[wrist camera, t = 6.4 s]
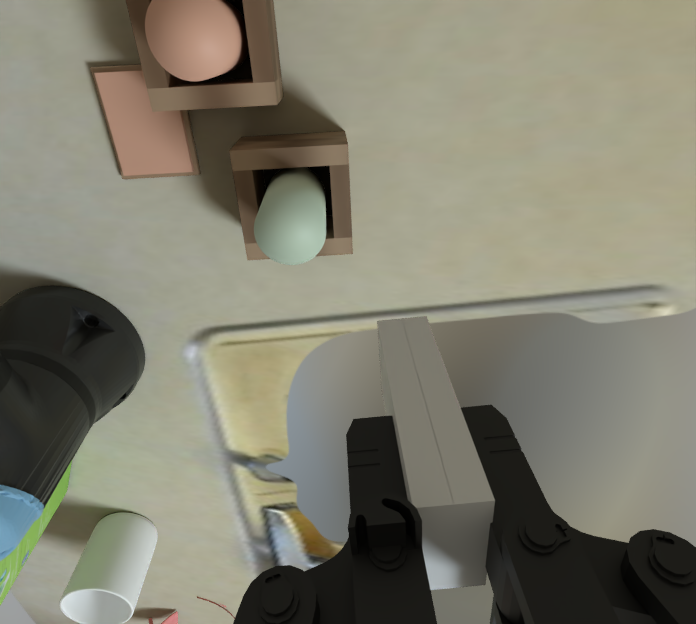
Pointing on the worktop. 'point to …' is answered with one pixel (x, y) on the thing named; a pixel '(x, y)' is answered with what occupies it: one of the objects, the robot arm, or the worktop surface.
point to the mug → (110, 570)
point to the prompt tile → (143, 127)
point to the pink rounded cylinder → (196, 37)
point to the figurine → (172, 620)
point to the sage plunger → (292, 217)
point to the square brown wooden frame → (291, 153)
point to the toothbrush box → (30, 538)
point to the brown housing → (215, 93)
